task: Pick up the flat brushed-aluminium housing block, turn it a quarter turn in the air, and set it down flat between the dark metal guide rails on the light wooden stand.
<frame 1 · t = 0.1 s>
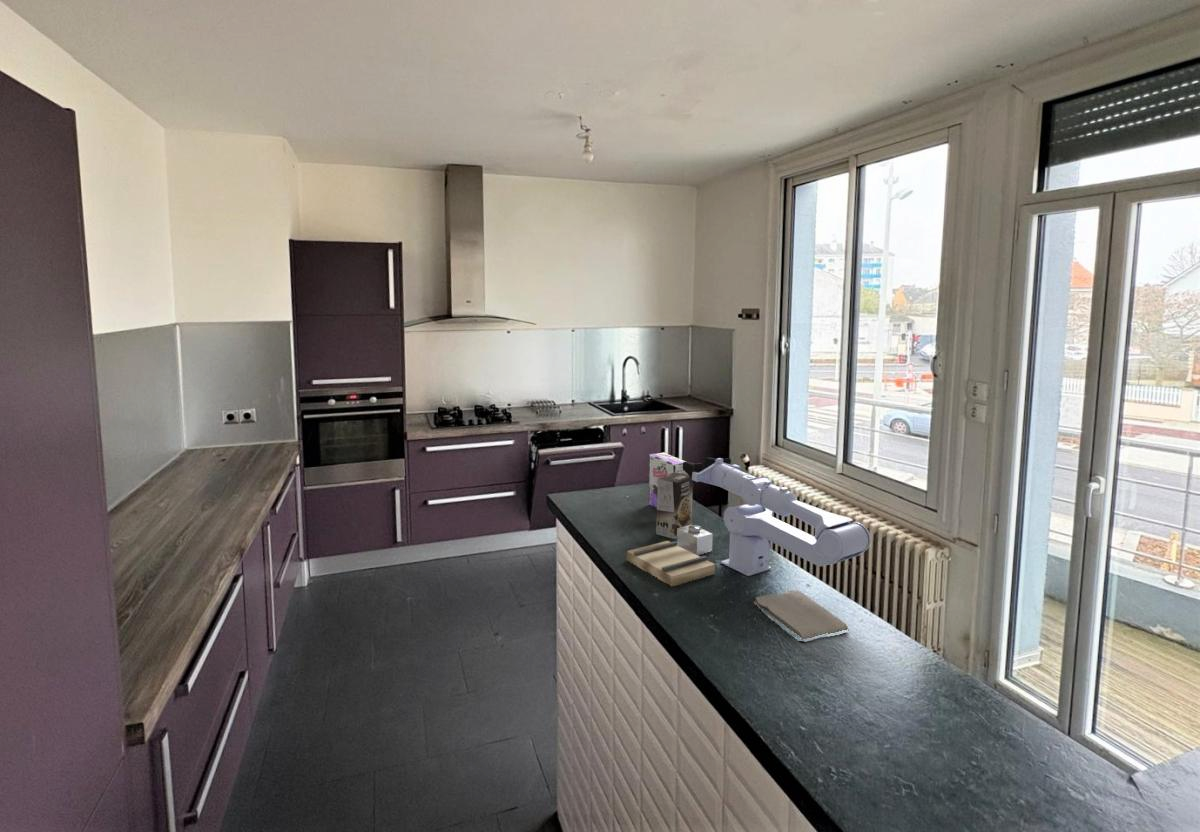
hand: (695, 463, 181), 22 cm above the counter, tool horizontal, fingers open, 7 cm apart
candy box: (667, 510, 211), on the counter
coffee box: (674, 533, 192), on the counter
stand: (669, 567, 169), on the counter
housing: (694, 549, 181), on the counter
washcloth: (798, 621, 143), on the counter
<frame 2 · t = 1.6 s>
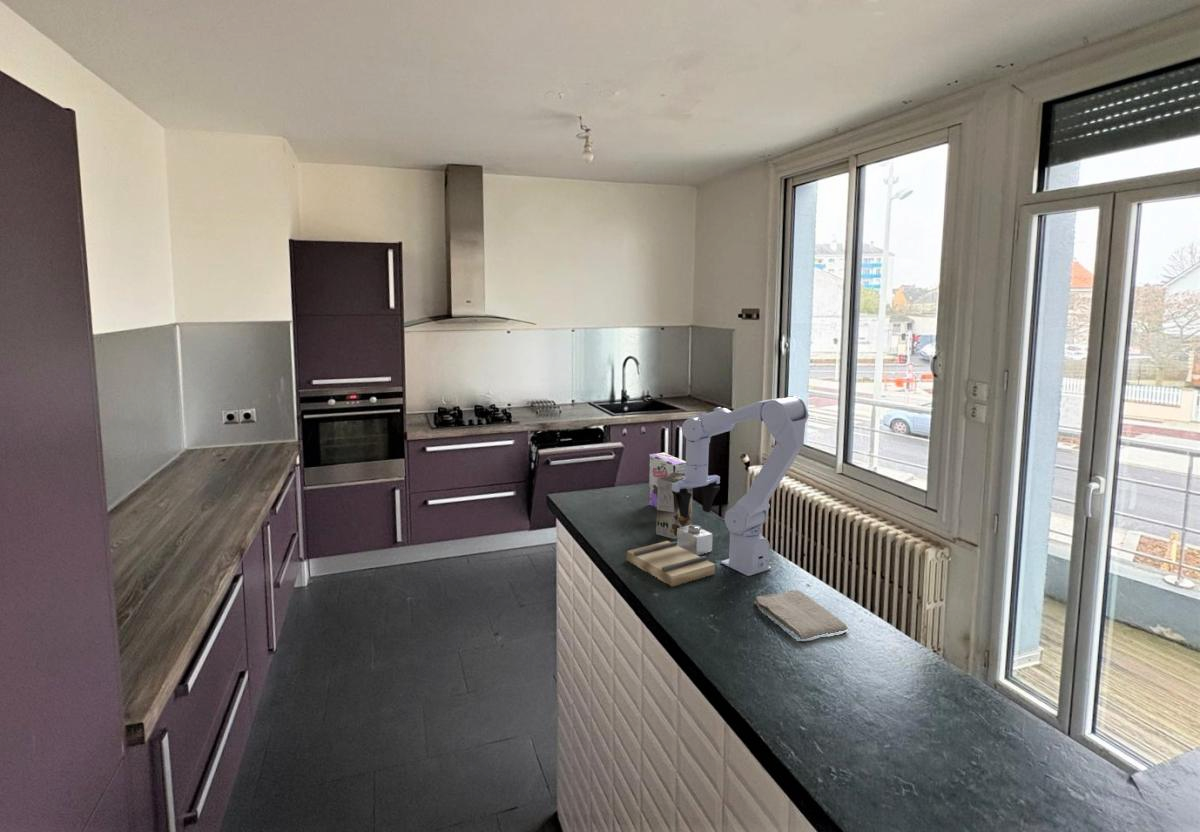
hand: (695, 514, 179), 9 cm above the counter, tool pointing down, fingers open, 7 cm apart
nothing on the counter moved.
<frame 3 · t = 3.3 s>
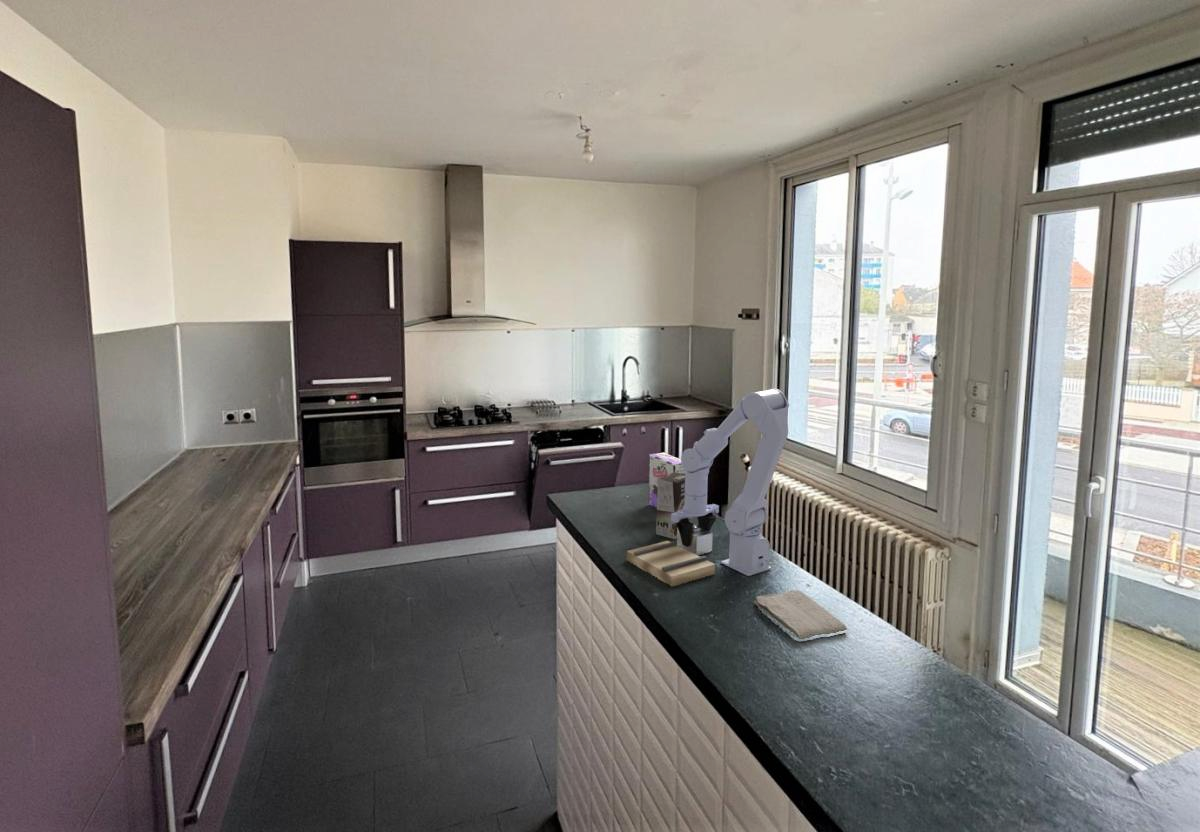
hand: (694, 543, 180), 1 cm above the counter, tool pointing down, fingers closed on housing, 5 cm apart
housing: (694, 548, 181), on the counter, touching gripper
everything else where it was.
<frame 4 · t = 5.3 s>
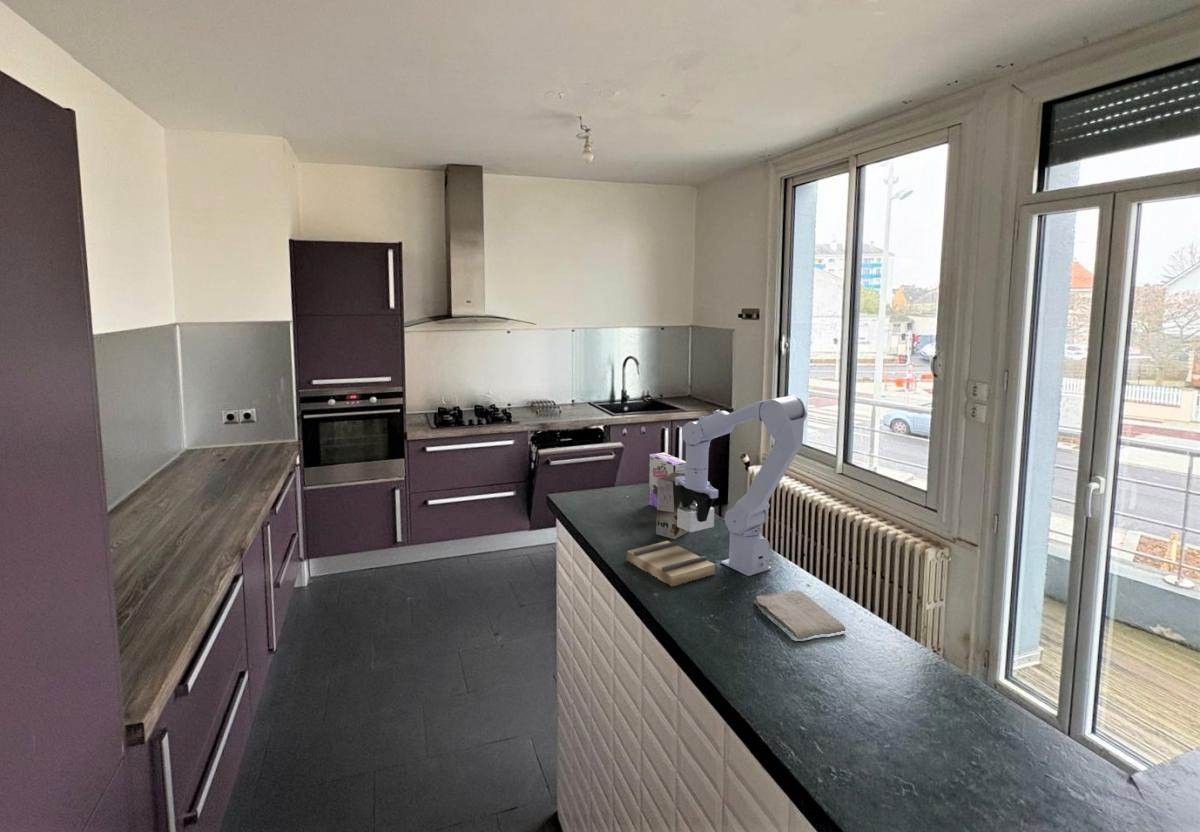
hand: (695, 517, 179), 8 cm above the counter, tool pointing down, fingers closed on housing, 5 cm apart
housing: (695, 526, 179), point 6 cm above the counter, touching gripper
everything else where it was.
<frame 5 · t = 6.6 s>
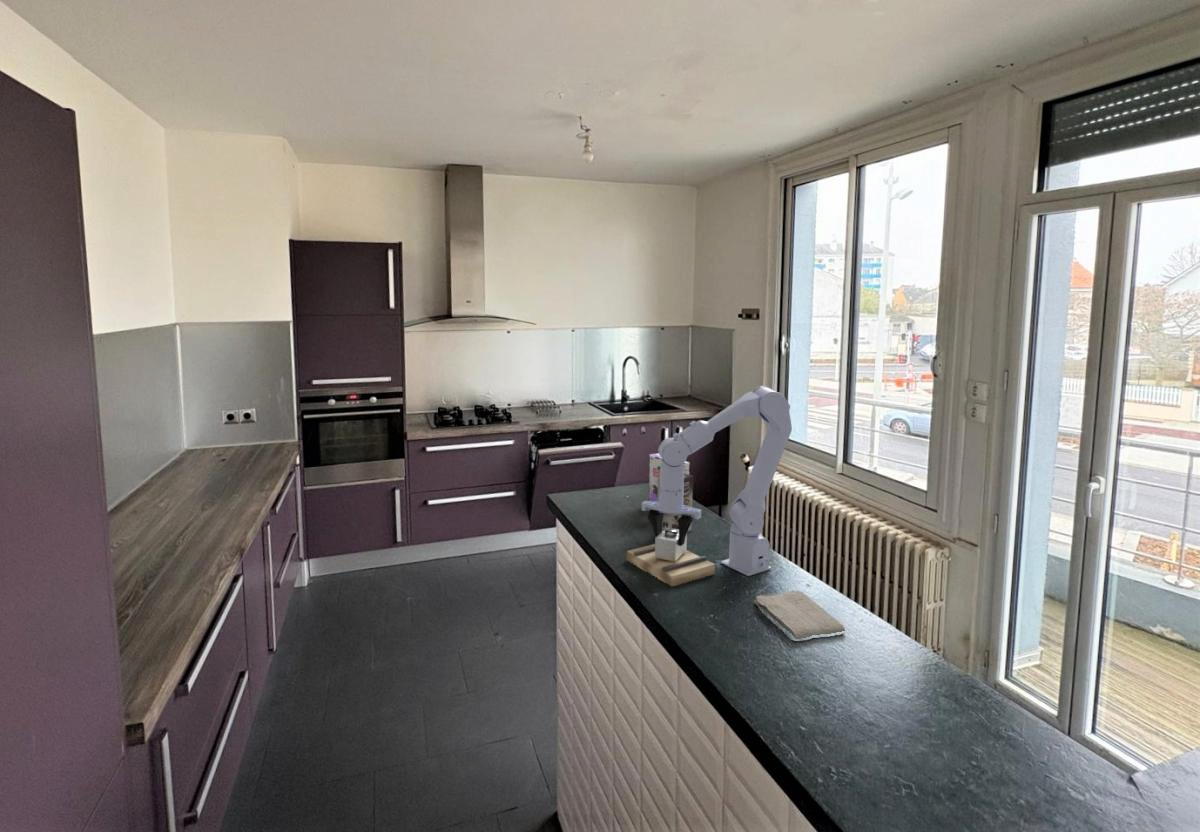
hand: (670, 542, 167), 6 cm above the counter, tool pointing down, fingers closed on housing, 5 cm apart
housing: (670, 553, 169), point 3 cm above the counter, touching gripper
everything else where it was.
when the fingers open (6 cm above the counter, at t = 7.6 s): housing stays where it is, resting on stand.
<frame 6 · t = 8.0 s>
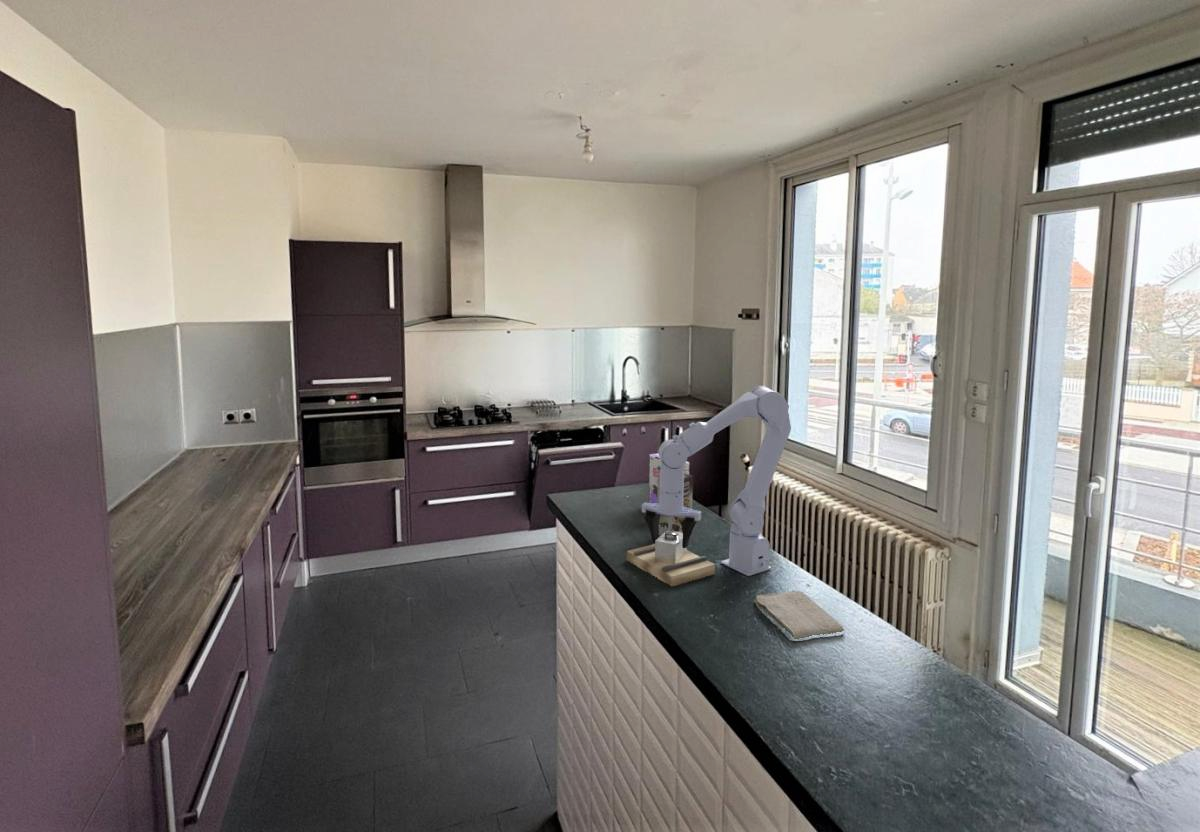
hand: (670, 544, 168), 6 cm above the counter, tool pointing down, fingers open, 7 cm apart
housing: (670, 556, 169), point 2 cm above the counter, touching stand
everything else where it was.
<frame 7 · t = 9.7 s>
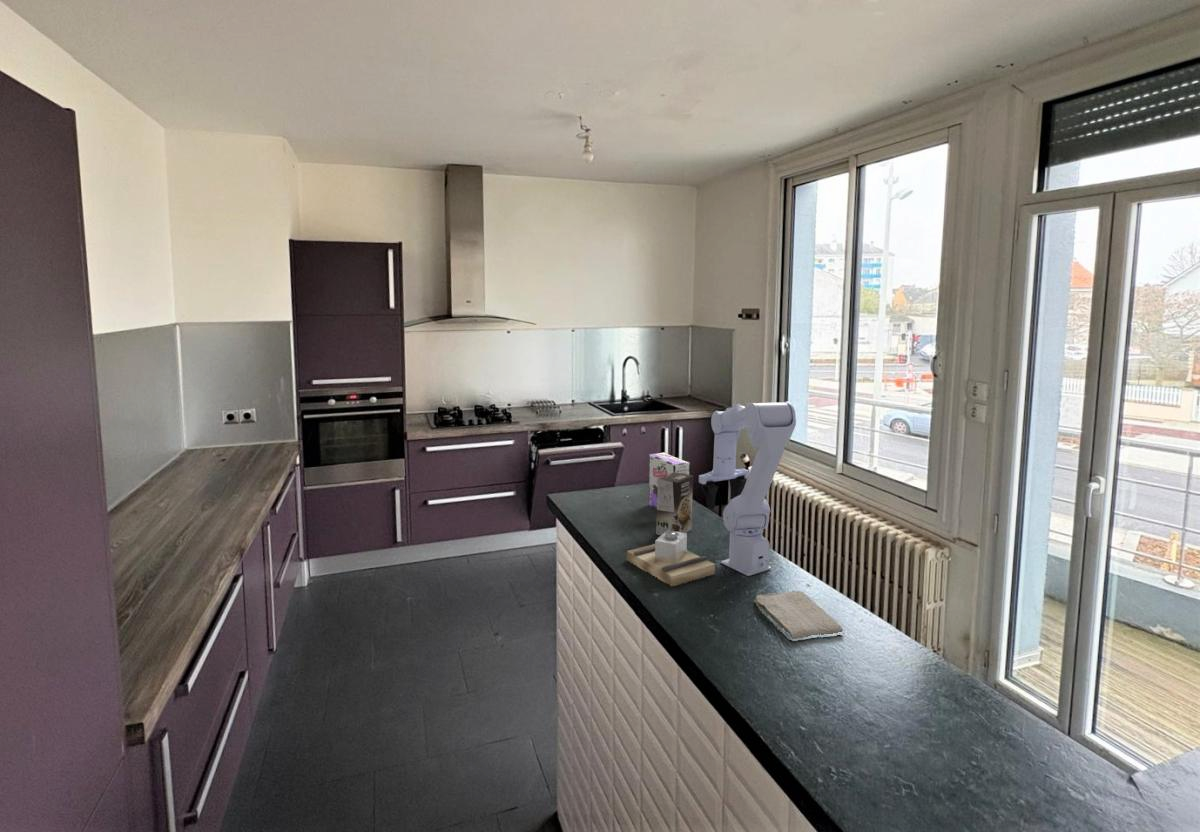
hand: (722, 506, 182), 10 cm above the counter, tool pointing down, fingers open, 7 cm apart
nothing on the counter moved.
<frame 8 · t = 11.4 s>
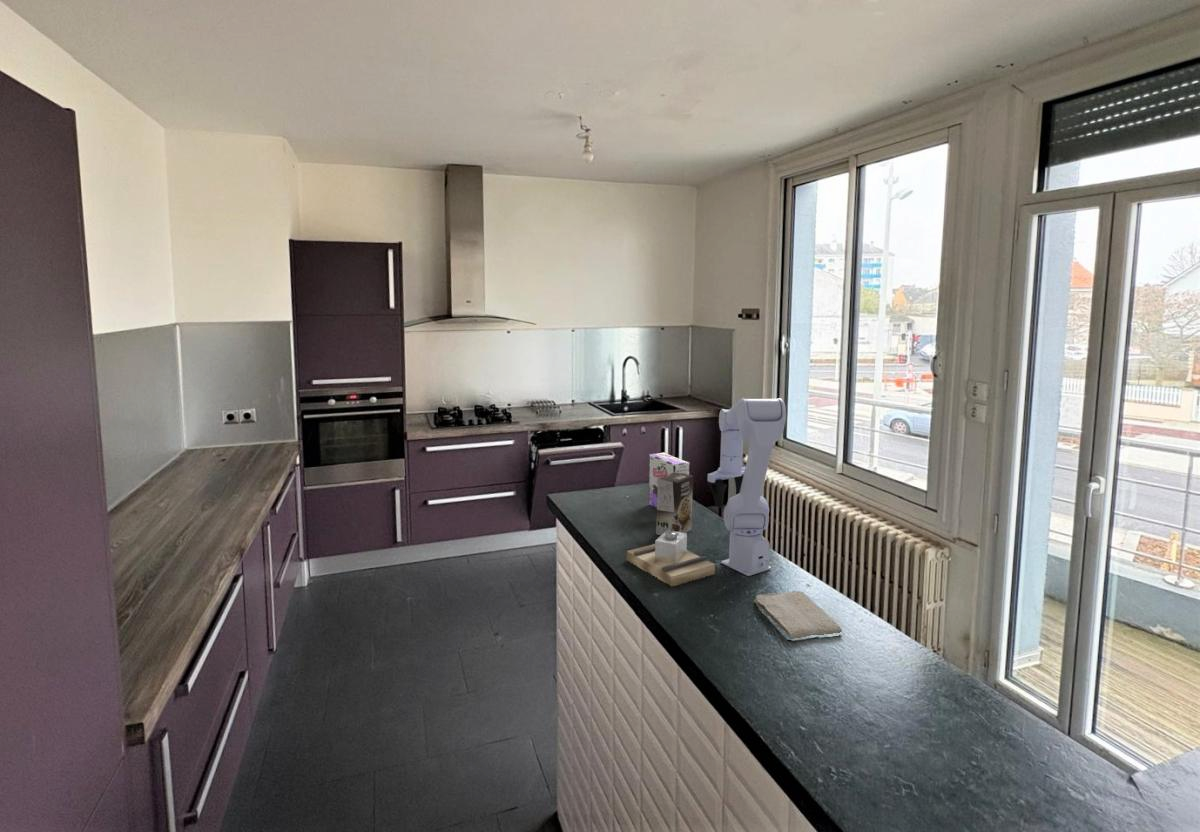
hand: (729, 504, 184), 10 cm above the counter, tool pointing down, fingers open, 7 cm apart
nothing on the counter moved.
at the end: housing 0.7 cm off-centre on the stand, point 2.5 cm above the stand's base; housing tilted 0°; the gripper is holding nothing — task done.
